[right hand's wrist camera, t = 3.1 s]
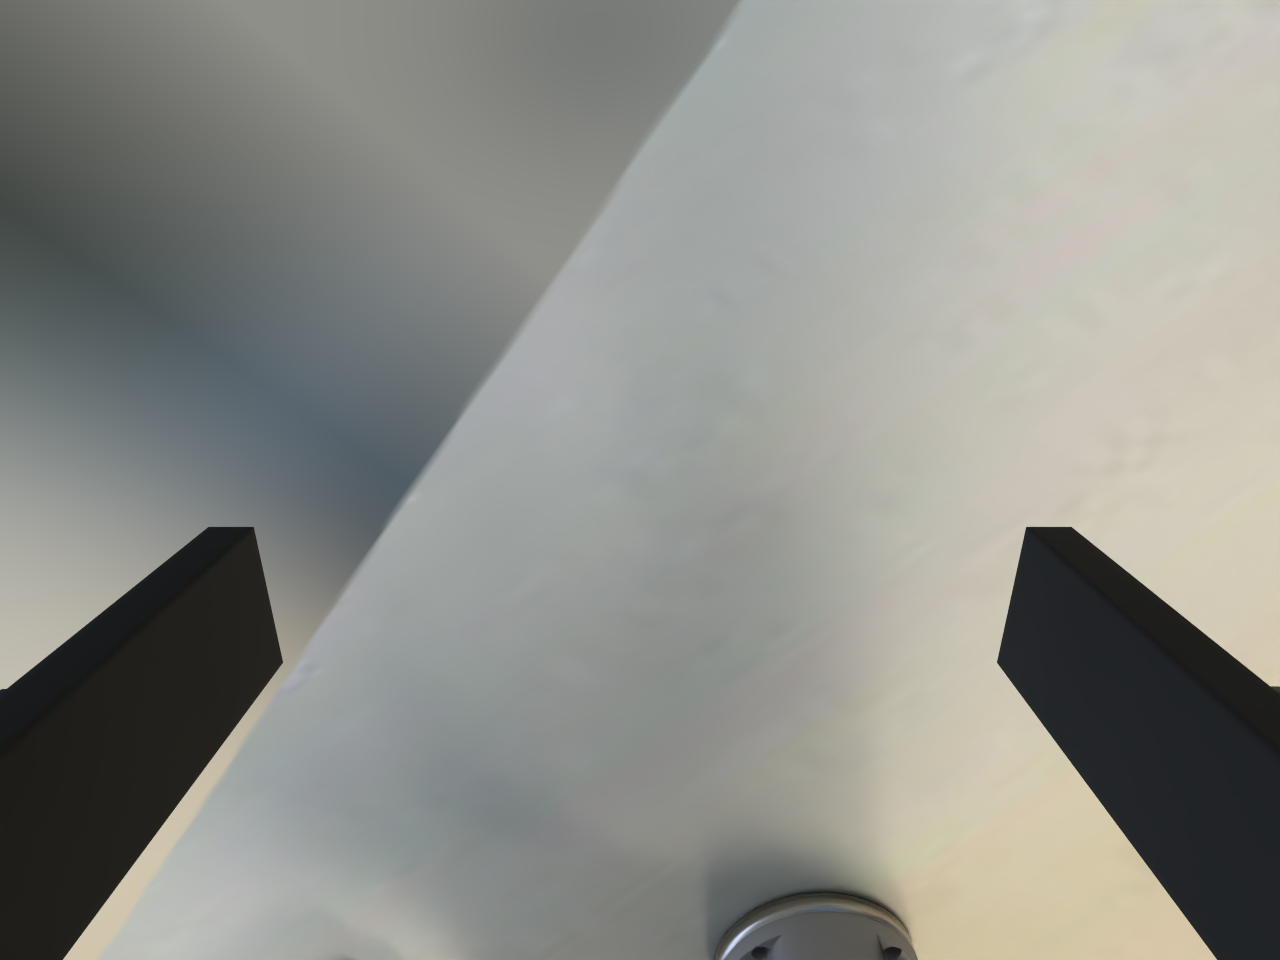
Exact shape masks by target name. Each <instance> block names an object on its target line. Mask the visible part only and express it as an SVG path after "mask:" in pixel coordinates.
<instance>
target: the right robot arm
mask: <svg viewBox="0 0 1280 960" xmlns="http://www.w3.org/2000/svg"><path fill="white" fill-rule="evenodd" d="M282 663H283V660H282V656H281V651H280V647H279V642H278V637H277V633H276V628H275V623H274V619H273V614H272V610H271V605H270V600H269V596H268V591H267V586H266V582H265V577H264V573H263V568H262V563H261V559H260V554H259V549H258V545H257V540H256V536H255V531H254V527H208V528H207V529H206V530H204V531H203V532H202V533H201V534H199V535H198V536H197V537H196V538H194V539H193V540H192V541H191V542H189V543H188V544H187V545H186V546H184V547H183V548H182V549H181V550H179V551H178V552H177V553H176V554H174V555H173V556H172V557H171V558H169V559H168V560H167V561H166V562H164V563H163V564H162V565H161V566H159V567H158V568H157V569H156V570H154V571H153V572H152V573H151V574H149V575H148V576H147V577H146V578H144V579H143V580H142V581H141V582H139V583H138V584H137V585H136V586H135V587H133V588H132V589H131V590H129V591H128V592H127V593H126V594H125V595H123V596H122V597H121V598H120V599H118V600H117V601H116V602H115V603H113V604H112V605H111V606H110V607H108V608H107V609H106V610H105V611H103V612H102V613H101V614H100V615H98V616H97V617H96V618H95V619H93V620H92V621H91V622H90V623H88V624H87V625H86V626H85V627H83V628H82V629H81V630H80V631H78V632H77V633H76V634H75V635H73V636H72V637H71V638H70V639H68V640H67V641H66V642H65V643H63V644H62V645H61V646H60V647H58V648H57V649H56V650H55V651H53V652H52V653H51V654H50V655H48V656H47V657H46V658H45V659H44V660H42V661H41V662H40V663H39V664H37V665H36V666H35V667H34V668H32V669H31V670H30V671H29V672H27V673H26V674H25V675H24V676H22V677H21V678H20V679H19V680H17V681H16V682H15V683H14V684H12V685H11V686H10V687H9V688H7V689H2V690H0V960H63V959H64V957H65V956H66V955H67V953H68V952H69V951H70V949H71V948H72V946H73V945H74V944H75V942H76V941H77V940H78V938H79V937H80V936H81V934H82V933H83V932H84V930H85V929H86V928H87V926H88V925H89V924H90V922H91V921H92V920H93V918H94V917H95V915H96V914H97V913H98V911H99V910H100V909H101V907H102V906H103V905H104V903H105V902H106V901H107V899H108V898H109V897H110V895H111V894H112V893H113V891H114V890H115V888H116V887H117V886H118V884H119V883H120V882H121V880H122V879H123V878H124V876H125V875H126V874H127V872H128V871H129V870H130V868H131V867H132V866H133V864H134V863H135V861H136V860H137V859H138V857H139V856H140V855H141V853H142V852H143V851H144V849H145V848H146V847H147V845H148V844H149V843H150V841H151V840H152V839H153V837H154V836H155V835H156V833H157V832H158V830H159V829H160V828H161V826H162V825H163V824H164V822H165V821H166V820H167V818H168V817H169V816H170V814H171V813H172V812H173V810H174V809H175V808H176V806H177V805H178V803H179V802H180V801H181V799H182V798H183V797H184V795H185V794H186V793H187V791H188V790H189V789H190V787H191V786H192V784H193V783H194V782H195V780H196V779H197V778H198V776H199V775H200V774H201V772H202V771H203V770H204V768H205V767H206V766H207V764H208V763H209V762H210V760H211V759H212V758H213V756H214V755H215V754H216V752H217V751H218V749H219V748H220V747H221V745H222V744H223V743H224V741H225V740H226V739H227V737H228V736H229V735H230V733H231V732H232V731H233V729H234V728H235V727H236V725H237V724H238V723H239V721H240V720H241V718H242V717H243V716H244V714H245V713H246V712H247V710H248V709H249V708H250V706H251V705H252V704H253V702H254V701H255V700H256V698H257V697H258V696H259V694H260V693H261V692H262V690H263V689H264V687H265V686H266V685H267V683H268V682H269V681H270V679H271V678H272V677H273V675H274V674H275V673H276V671H277V670H278V669H279V667H280V666H281V664H282ZM997 663H998V665H999V666H1000V667H1001V669H1002V670H1003V671H1004V673H1005V674H1006V675H1007V677H1008V678H1009V679H1010V681H1011V682H1012V683H1013V685H1014V686H1015V687H1016V689H1017V690H1018V692H1019V693H1020V694H1021V696H1022V697H1023V698H1024V700H1025V701H1026V702H1027V704H1028V705H1029V706H1030V708H1031V709H1032V710H1033V712H1034V713H1035V714H1036V716H1037V717H1038V718H1039V720H1040V721H1041V723H1042V724H1043V725H1044V727H1045V728H1046V729H1047V731H1048V732H1049V733H1050V735H1051V736H1052V737H1053V739H1054V740H1055V741H1056V743H1057V744H1058V745H1059V747H1060V748H1061V750H1062V751H1063V752H1064V754H1065V755H1066V756H1067V758H1068V759H1069V760H1070V762H1071V763H1072V764H1073V766H1074V767H1075V768H1076V770H1077V771H1078V772H1079V774H1080V775H1081V777H1082V778H1083V779H1084V781H1085V782H1086V783H1087V785H1088V786H1089V787H1090V789H1091V790H1092V791H1093V793H1094V794H1095V795H1096V797H1097V798H1098V799H1099V801H1100V802H1101V803H1102V805H1103V806H1104V808H1105V809H1106V810H1107V812H1108V813H1109V814H1110V816H1111V817H1112V818H1113V820H1114V821H1115V822H1116V824H1117V825H1118V826H1119V828H1120V829H1121V830H1122V832H1123V833H1124V835H1125V836H1126V837H1127V839H1128V840H1129V841H1130V843H1131V844H1132V845H1133V847H1134V848H1135V849H1136V851H1137V852H1138V853H1139V855H1140V856H1141V857H1142V859H1143V860H1144V862H1145V863H1146V864H1147V866H1148V867H1149V868H1150V870H1151V871H1152V872H1153V874H1154V875H1155V876H1156V878H1157V879H1158V880H1159V882H1160V883H1161V884H1162V886H1163V887H1164V888H1165V890H1166V891H1167V893H1168V894H1169V895H1170V897H1171V898H1172V899H1173V901H1174V902H1175V903H1176V905H1177V906H1178V907H1179V909H1180V910H1181V911H1182V913H1183V914H1184V915H1185V917H1186V918H1187V920H1188V921H1189V922H1190V924H1191V925H1192V926H1193V928H1194V929H1195V930H1196V932H1197V933H1198V934H1199V936H1200V937H1201V938H1202V940H1203V941H1204V942H1205V944H1206V945H1207V946H1208V948H1209V949H1210V951H1211V952H1212V953H1213V955H1214V956H1215V957H1216V959H1217V960H1280V687H1270V686H1269V685H1268V684H1266V683H1265V682H1264V681H1263V680H1261V679H1260V678H1259V677H1258V676H1256V675H1255V674H1254V673H1253V672H1251V671H1250V670H1249V669H1248V668H1246V667H1245V666H1244V665H1243V664H1241V663H1240V662H1239V661H1238V660H1236V659H1235V658H1234V657H1233V656H1232V655H1230V654H1229V653H1228V652H1227V651H1225V650H1224V649H1223V648H1222V647H1220V646H1219V645H1218V644H1217V643H1215V642H1214V641H1213V640H1212V639H1210V638H1209V637H1208V636H1207V635H1205V634H1204V633H1203V632H1202V631H1200V630H1199V629H1198V628H1197V627H1195V626H1194V625H1193V624H1192V623H1190V622H1189V621H1188V620H1187V619H1185V618H1184V617H1183V616H1182V615H1180V614H1179V613H1178V612H1177V611H1175V610H1174V609H1173V608H1172V607H1170V606H1169V605H1168V604H1167V603H1165V602H1164V601H1163V600H1162V599H1160V598H1159V597H1158V596H1157V595H1155V594H1154V593H1153V592H1152V591H1151V590H1149V589H1148V588H1147V587H1146V586H1144V585H1143V584H1142V583H1141V582H1139V581H1138V580H1137V579H1136V578H1134V577H1133V576H1132V575H1131V574H1129V573H1128V572H1127V571H1126V570H1124V569H1123V568H1122V567H1121V566H1119V565H1118V564H1117V563H1116V562H1114V561H1113V560H1112V559H1111V558H1109V557H1108V556H1107V555H1106V554H1104V553H1103V552H1102V551H1101V550H1099V549H1098V548H1097V547H1096V546H1094V545H1093V544H1092V543H1091V542H1089V541H1088V540H1087V539H1086V538H1084V537H1083V536H1082V535H1081V534H1079V533H1078V532H1077V531H1076V530H1074V529H1073V528H1072V527H1026V531H1025V535H1024V540H1023V545H1022V549H1021V554H1020V559H1019V563H1018V568H1017V573H1016V577H1015V582H1014V586H1013V591H1012V596H1011V600H1010V605H1009V610H1008V614H1007V619H1006V623H1005V628H1004V633H1003V637H1002V642H1001V647H1000V651H999V656H998V660H997ZM715 960H918V959H917V956H916V953H915V951H914V948H913V945H912V942H911V939H910V937H909V935H908V933H907V931H906V929H905V928H904V926H903V925H902V924H901V923H900V921H899V920H898V919H897V918H896V917H895V916H893V915H892V914H891V913H890V912H888V911H887V910H885V909H884V908H882V907H880V906H879V905H876V904H874V903H872V902H870V901H867V900H864V899H862V898H858V897H854V896H850V895H844V894H836V893H808V894H800V895H794V896H790V897H786V898H782V899H779V900H776V901H773V902H770V903H768V904H765V905H763V906H761V907H759V908H757V909H755V910H753V911H752V912H750V913H748V914H747V915H745V916H744V917H743V918H741V919H740V920H739V921H738V922H737V923H735V924H734V925H733V926H732V927H731V929H730V930H729V931H728V932H727V933H726V935H725V936H724V937H723V939H722V941H721V942H720V944H719V947H718V949H717V952H716V956H715Z"/></svg>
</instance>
